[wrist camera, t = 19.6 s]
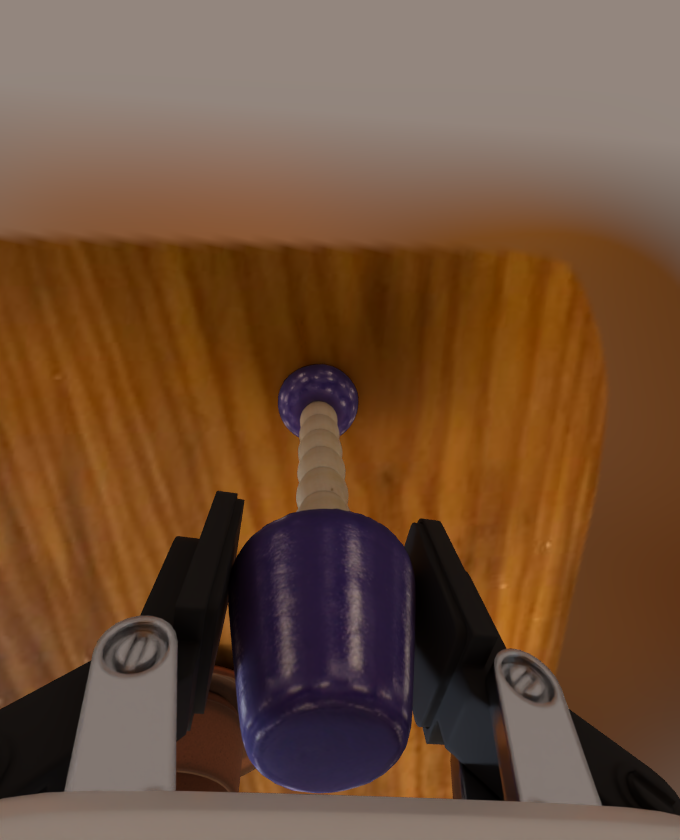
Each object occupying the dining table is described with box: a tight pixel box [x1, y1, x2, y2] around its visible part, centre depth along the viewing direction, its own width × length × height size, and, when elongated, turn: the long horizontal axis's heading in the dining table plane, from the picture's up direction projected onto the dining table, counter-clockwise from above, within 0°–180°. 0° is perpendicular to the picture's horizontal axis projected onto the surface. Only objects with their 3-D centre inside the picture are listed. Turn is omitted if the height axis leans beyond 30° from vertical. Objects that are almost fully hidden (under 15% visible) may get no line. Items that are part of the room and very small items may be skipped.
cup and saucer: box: [176, 665, 256, 792], centre depth 28 cm, size 12×12×6 cm
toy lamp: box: [228, 364, 416, 793], centre depth 15 cm, size 5×5×17 cm
